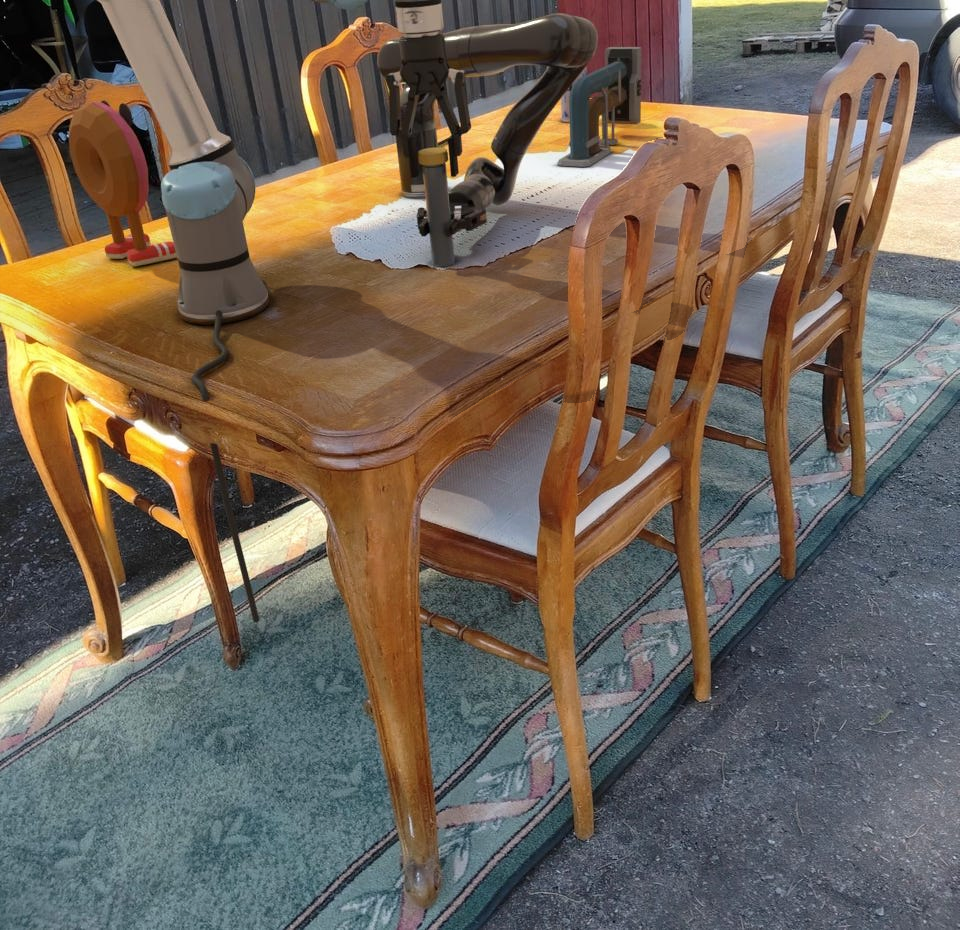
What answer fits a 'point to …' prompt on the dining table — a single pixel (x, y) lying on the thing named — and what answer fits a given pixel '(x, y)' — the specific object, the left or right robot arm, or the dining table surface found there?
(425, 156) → the lid
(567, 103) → the aerosol can
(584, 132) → the clamp
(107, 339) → the dining table surface
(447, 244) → the tube
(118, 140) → the toy
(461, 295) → the dining table surface
